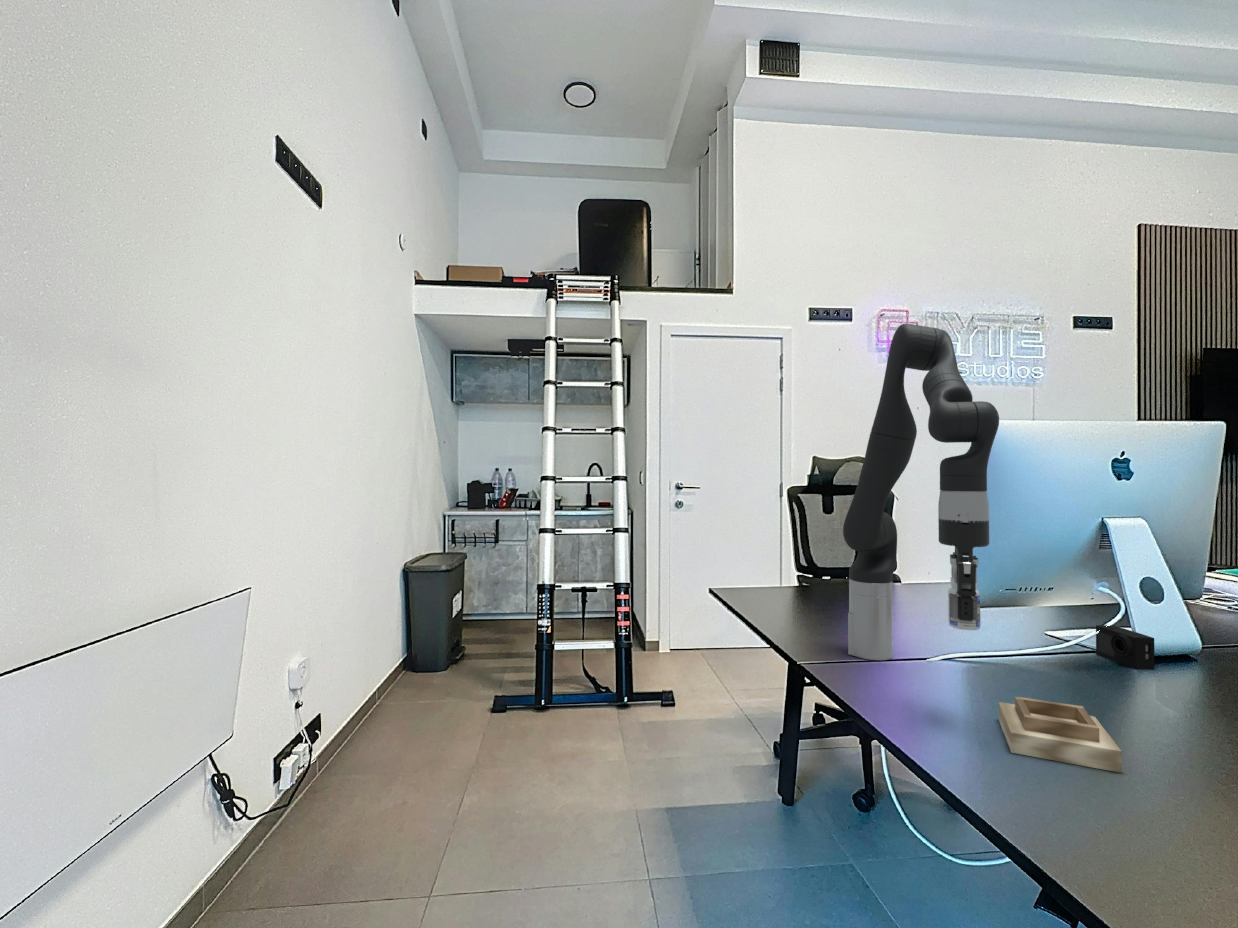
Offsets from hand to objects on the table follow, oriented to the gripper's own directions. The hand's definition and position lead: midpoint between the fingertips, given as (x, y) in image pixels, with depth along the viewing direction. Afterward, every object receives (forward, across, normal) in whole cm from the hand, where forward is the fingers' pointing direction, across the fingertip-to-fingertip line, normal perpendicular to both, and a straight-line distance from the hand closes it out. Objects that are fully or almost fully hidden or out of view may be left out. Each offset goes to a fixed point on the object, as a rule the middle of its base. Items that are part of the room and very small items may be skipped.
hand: (964, 616), depth 99 cm
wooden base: (+18, +4, +12) cm, 22 cm away
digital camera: (+18, -51, +34) cm, 64 cm away
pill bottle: (+2, 0, 0) cm, 2 cm away
